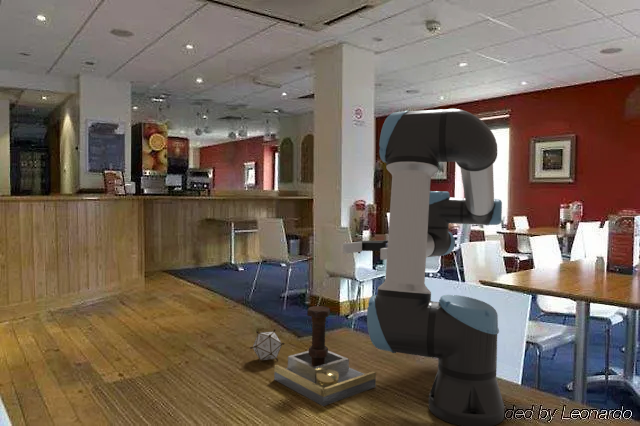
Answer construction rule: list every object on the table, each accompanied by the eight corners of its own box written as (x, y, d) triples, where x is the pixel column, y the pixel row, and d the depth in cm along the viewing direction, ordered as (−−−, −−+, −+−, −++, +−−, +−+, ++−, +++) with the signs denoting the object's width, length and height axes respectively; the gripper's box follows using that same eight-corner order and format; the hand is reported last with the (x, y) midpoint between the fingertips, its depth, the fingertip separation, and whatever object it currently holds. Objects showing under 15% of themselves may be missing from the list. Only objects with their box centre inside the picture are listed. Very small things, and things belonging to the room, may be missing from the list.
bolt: (326, 374, 114) (326, 312, 113) (305, 373, 115) (305, 310, 114) (330, 366, 120) (331, 306, 119) (310, 364, 121) (311, 305, 120)
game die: (271, 376, 128) (278, 354, 122) (242, 362, 129) (247, 340, 123) (284, 350, 135) (291, 328, 129) (257, 338, 136) (262, 315, 130)
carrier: (375, 387, 112) (375, 365, 112) (323, 406, 102) (323, 383, 102) (324, 364, 126) (325, 345, 126) (274, 379, 116) (274, 359, 116)
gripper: (451, 264, 129) (398, 272, 115) (381, 253, 148) (329, 259, 134) (452, 236, 129) (399, 241, 115) (382, 229, 148) (330, 232, 134)
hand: (361, 251), depth 124 cm, fingers open, 13 cm apart
